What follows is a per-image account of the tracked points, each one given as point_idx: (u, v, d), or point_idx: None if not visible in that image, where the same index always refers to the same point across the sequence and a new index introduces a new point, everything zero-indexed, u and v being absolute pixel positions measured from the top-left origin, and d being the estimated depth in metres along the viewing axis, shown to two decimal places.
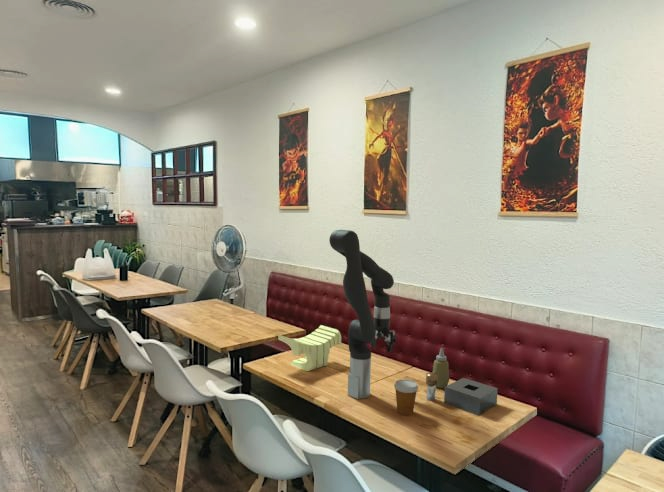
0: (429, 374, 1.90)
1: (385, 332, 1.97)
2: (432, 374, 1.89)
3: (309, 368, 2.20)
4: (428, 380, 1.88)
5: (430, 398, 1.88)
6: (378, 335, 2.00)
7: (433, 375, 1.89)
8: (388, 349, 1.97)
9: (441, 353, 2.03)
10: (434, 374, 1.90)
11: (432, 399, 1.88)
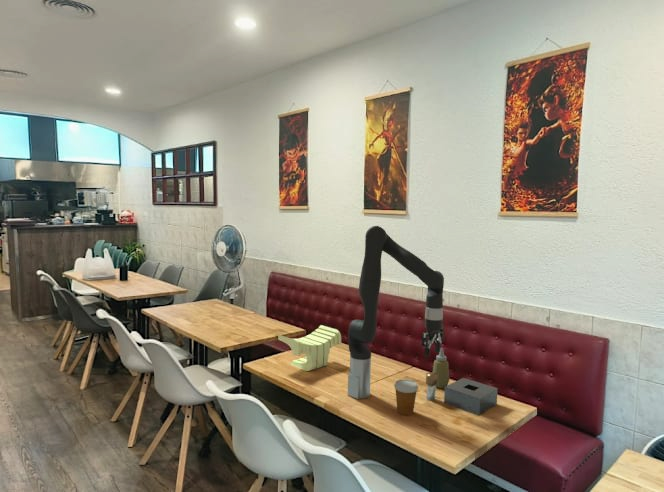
0: (429, 374, 1.90)
1: (439, 332, 1.90)
2: (432, 374, 1.89)
3: (309, 368, 2.20)
4: (428, 380, 1.88)
5: (430, 398, 1.88)
6: (434, 339, 1.87)
7: (433, 375, 1.89)
8: (439, 348, 1.92)
9: (441, 353, 2.03)
10: (434, 374, 1.90)
11: (432, 399, 1.88)
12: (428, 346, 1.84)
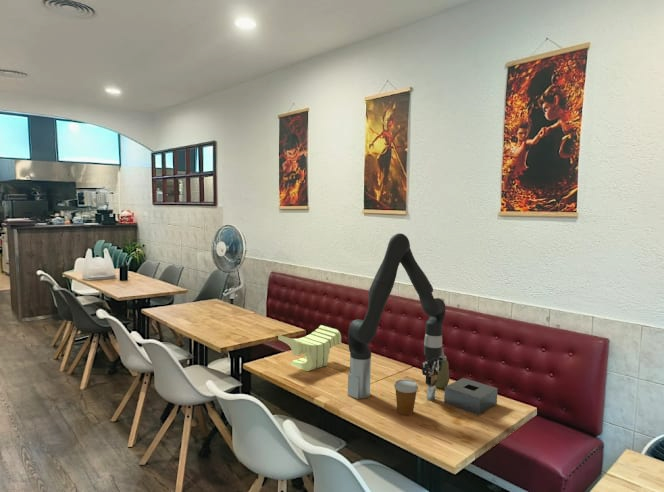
0: None
1: None
2: (432, 374, 1.89)
3: (309, 368, 2.20)
4: None
5: (430, 398, 1.88)
6: (434, 365, 1.88)
7: (433, 375, 1.89)
8: (437, 377, 1.91)
9: None
10: (434, 374, 1.90)
11: (432, 399, 1.88)
12: (429, 375, 1.86)
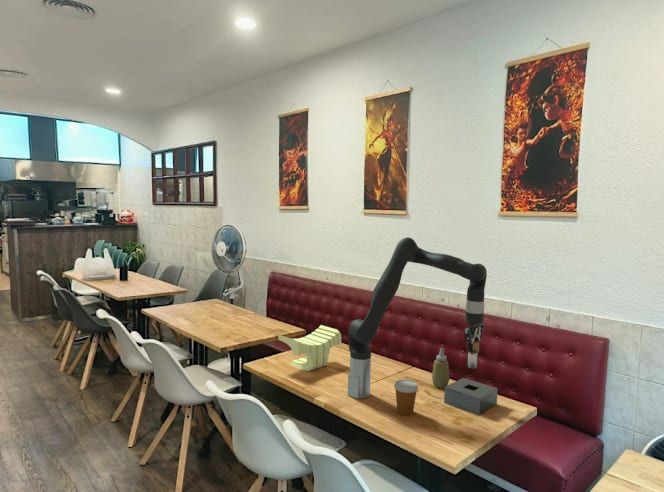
0: None
1: (479, 327, 1.86)
2: (473, 342, 1.84)
3: (309, 368, 2.20)
4: None
5: (472, 365, 1.84)
6: None
7: (474, 342, 1.84)
8: None
9: (441, 353, 2.03)
10: (475, 341, 1.85)
11: (474, 367, 1.84)
12: (471, 342, 1.81)
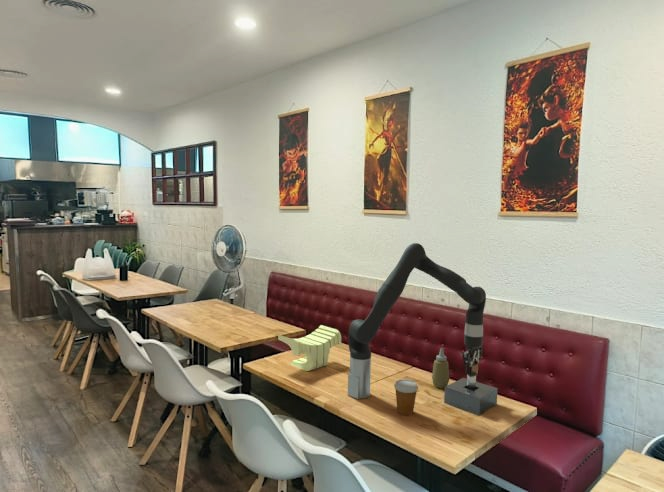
0: None
1: None
2: (472, 364, 1.85)
3: (309, 368, 2.20)
4: None
5: (471, 388, 1.85)
6: (474, 355, 1.84)
7: (473, 365, 1.85)
8: None
9: (441, 353, 2.03)
10: (474, 364, 1.86)
11: (473, 389, 1.85)
12: (470, 365, 1.82)
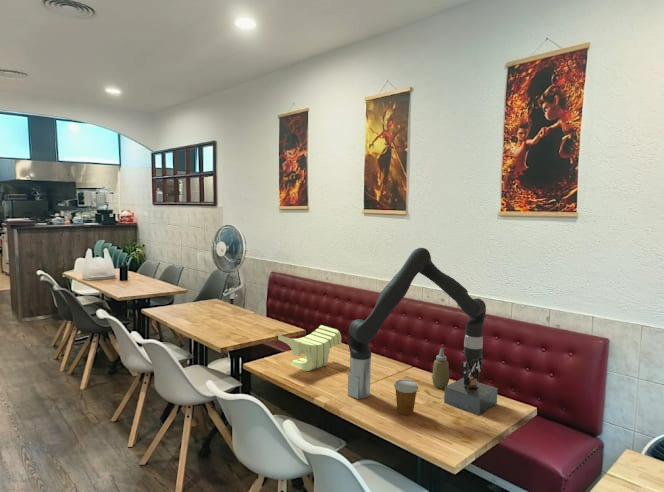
0: None
1: (478, 360, 1.87)
2: (471, 378, 1.85)
3: (309, 368, 2.20)
4: None
5: None
6: None
7: (472, 379, 1.85)
8: (478, 376, 1.89)
9: (441, 353, 2.03)
10: (474, 378, 1.86)
11: None
12: (468, 375, 1.81)
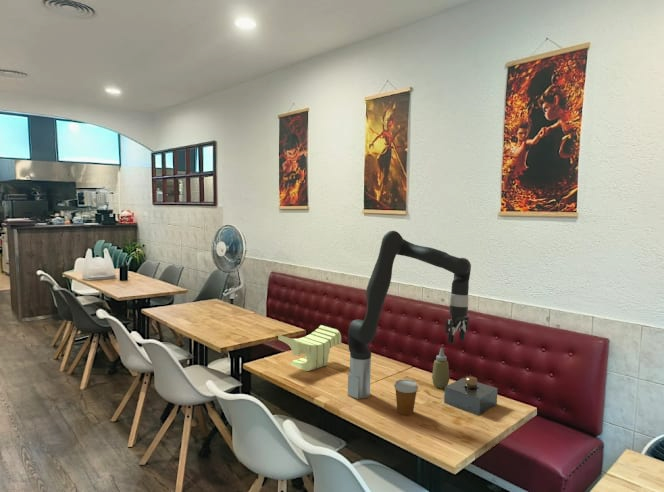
0: (469, 378, 1.86)
1: (463, 320, 1.88)
2: (471, 378, 1.85)
3: (309, 368, 2.20)
4: (468, 384, 1.84)
5: None
6: None
7: (472, 379, 1.85)
8: None
9: (441, 353, 2.03)
10: (474, 378, 1.86)
11: None
12: (452, 333, 1.82)
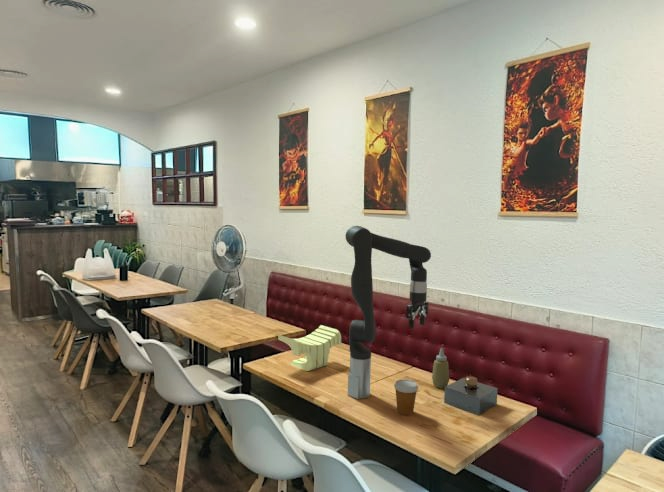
0: (469, 378, 1.86)
1: (423, 305, 1.97)
2: (471, 378, 1.85)
3: (309, 368, 2.20)
4: (468, 384, 1.84)
5: None
6: (418, 311, 1.95)
7: (472, 379, 1.85)
8: None
9: (441, 353, 2.03)
10: (474, 378, 1.86)
11: None
12: (412, 318, 1.92)
